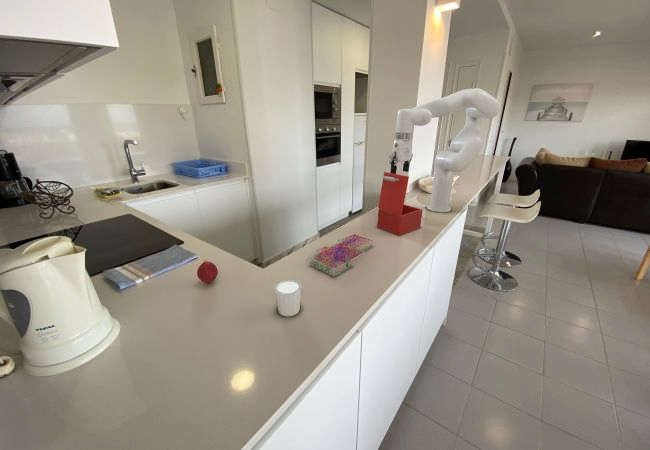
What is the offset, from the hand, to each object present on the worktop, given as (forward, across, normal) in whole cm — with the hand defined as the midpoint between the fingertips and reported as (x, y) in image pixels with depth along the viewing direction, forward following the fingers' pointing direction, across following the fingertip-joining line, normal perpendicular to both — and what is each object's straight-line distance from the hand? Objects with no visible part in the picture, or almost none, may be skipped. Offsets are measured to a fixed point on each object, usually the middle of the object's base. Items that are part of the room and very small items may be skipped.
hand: (399, 172), depth 138 cm
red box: (+22, -14, -13) cm, 29 cm away
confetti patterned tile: (+23, -53, -19) cm, 60 cm away
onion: (+23, -98, -7) cm, 100 cm away
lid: (+5, -20, -13) cm, 24 cm away
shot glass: (+23, -85, -33) cm, 94 cm away
